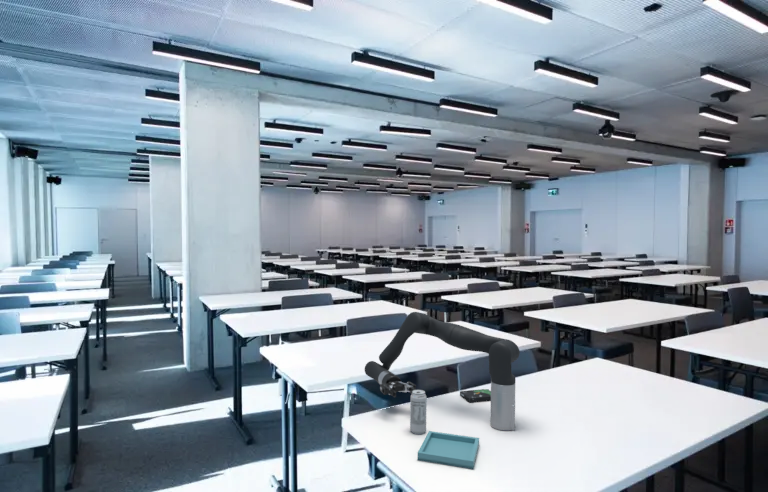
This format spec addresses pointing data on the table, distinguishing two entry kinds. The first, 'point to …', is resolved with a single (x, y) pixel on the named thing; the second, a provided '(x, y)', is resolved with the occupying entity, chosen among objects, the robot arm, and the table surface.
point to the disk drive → (476, 395)
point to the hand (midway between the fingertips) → (405, 393)
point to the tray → (449, 449)
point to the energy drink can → (418, 412)
